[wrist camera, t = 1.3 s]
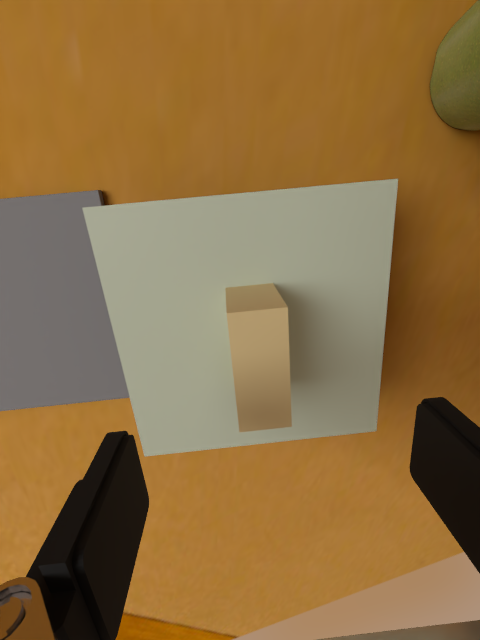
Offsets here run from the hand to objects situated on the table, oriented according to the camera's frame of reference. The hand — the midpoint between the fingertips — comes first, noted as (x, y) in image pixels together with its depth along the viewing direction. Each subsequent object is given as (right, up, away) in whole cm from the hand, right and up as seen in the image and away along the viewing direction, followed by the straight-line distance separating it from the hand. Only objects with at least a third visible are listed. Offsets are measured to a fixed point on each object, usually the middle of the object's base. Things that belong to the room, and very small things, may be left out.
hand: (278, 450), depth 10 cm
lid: (-1, +4, +8) cm, 9 cm away
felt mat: (-17, +5, +12) cm, 21 cm away
